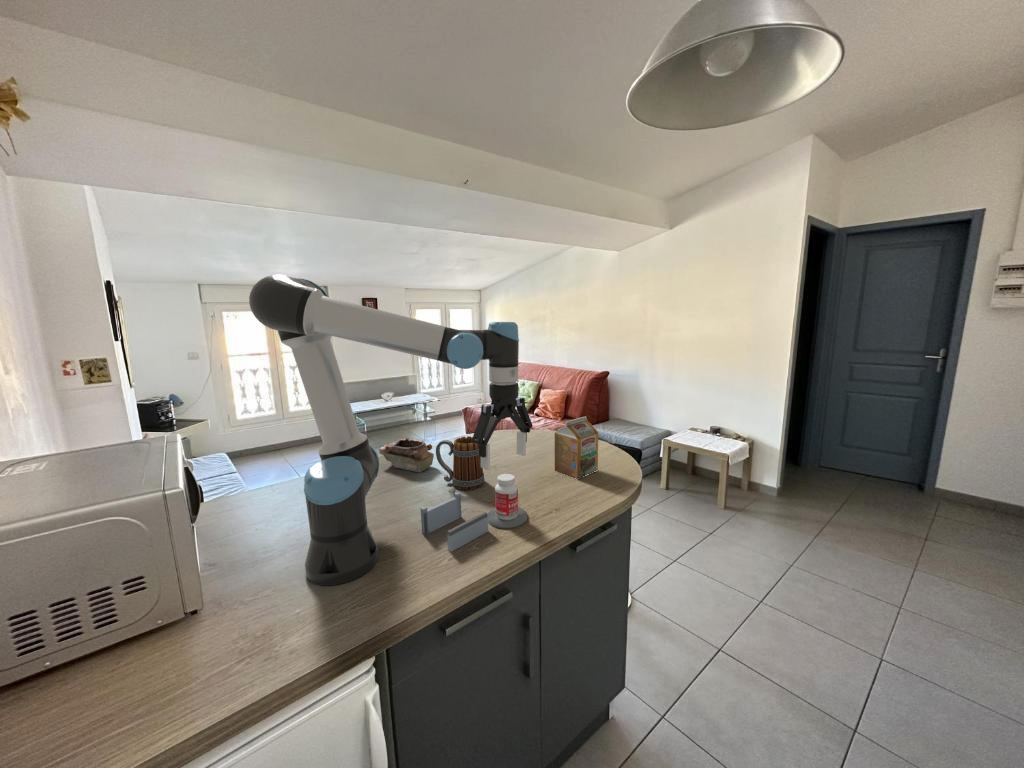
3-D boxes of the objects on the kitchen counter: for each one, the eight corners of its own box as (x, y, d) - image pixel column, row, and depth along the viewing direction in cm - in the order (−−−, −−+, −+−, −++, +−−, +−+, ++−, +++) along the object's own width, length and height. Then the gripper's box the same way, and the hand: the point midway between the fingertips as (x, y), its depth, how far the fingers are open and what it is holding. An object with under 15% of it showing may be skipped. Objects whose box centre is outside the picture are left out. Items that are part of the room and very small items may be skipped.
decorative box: (409, 480, 134) (407, 453, 132) (371, 469, 144) (369, 443, 142) (436, 467, 144) (435, 442, 143) (399, 457, 155) (397, 434, 153)
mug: (486, 477, 134) (485, 435, 132) (481, 491, 124) (479, 445, 121) (442, 476, 136) (440, 434, 133) (433, 489, 126) (430, 445, 123)
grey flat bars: (451, 552, 92) (449, 524, 91) (422, 533, 101) (420, 508, 99) (488, 531, 101) (487, 505, 100) (458, 515, 109) (457, 492, 108)
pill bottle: (511, 523, 103) (510, 483, 101) (491, 517, 106) (490, 479, 104) (522, 512, 108) (521, 474, 106) (503, 507, 111) (502, 470, 109)
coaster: (507, 533, 100) (507, 530, 100) (478, 518, 107) (478, 516, 107) (535, 516, 108) (535, 514, 107) (506, 504, 115) (506, 501, 115)
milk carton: (577, 480, 131) (577, 425, 127) (554, 470, 139) (554, 418, 135) (597, 471, 137) (598, 419, 134) (574, 463, 145) (575, 413, 142)
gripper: (477, 391, 89) (478, 479, 93) (545, 378, 107) (544, 452, 111) (456, 387, 94) (458, 470, 98) (525, 375, 112) (524, 446, 116)
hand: (504, 461), depth 104 cm, fingers open, 13 cm apart
